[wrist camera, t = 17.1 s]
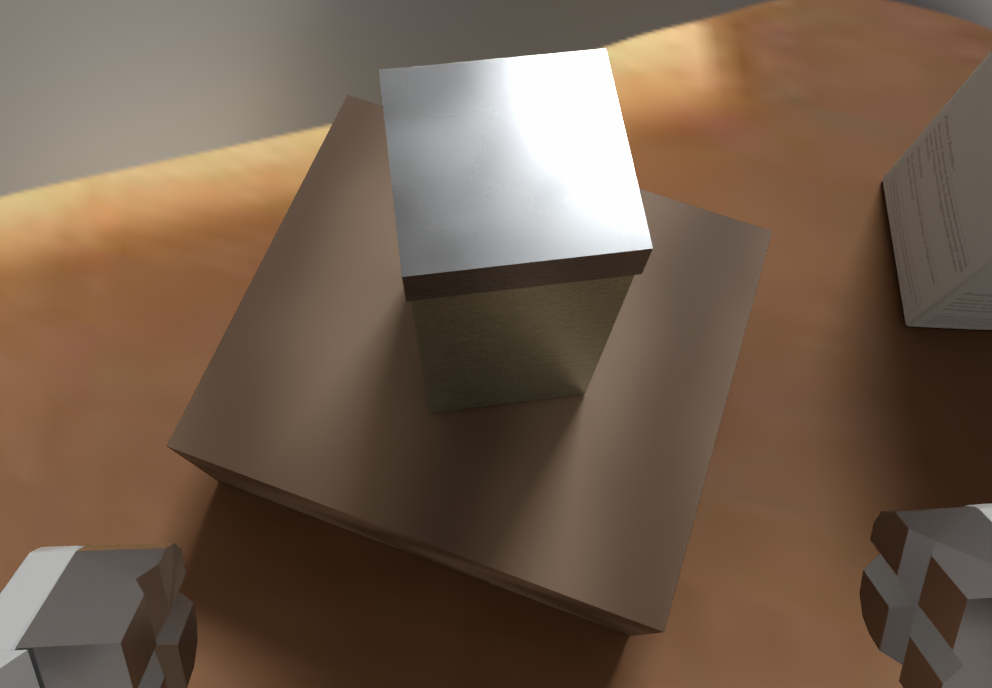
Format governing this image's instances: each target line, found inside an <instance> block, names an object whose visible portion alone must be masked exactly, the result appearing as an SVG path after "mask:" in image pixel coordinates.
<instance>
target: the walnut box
mask: <svg viewBox="0 0 992 688" xmlns="http://www.w3.org/2000/svg"><path fill="white" fill-rule="evenodd" d="M639 191H640V195H641V199H642V204H643V208H644V212H645V216H646V221H647V225H648V229H649V233H650V238H651V242H652V246H653V250H652V252H651V254H650V257H649V259H648V261H647V264H646V266H645V268H644V270H643V273H642V274H639V275H635V276H634V278H633V280H632V283H631V285H630V288H629V290H628V292H627V295H626V297H625V300H624V302H623V304H622V307H621V309H620V312H619V314H618V316H617V319H616V321H615V324H614V326H613V328H612V331H611V333H610V336H609V338H608V340H607V343H606V345H605V348H604V350H603V352H602V355H601V357H600V360H599V362H598V365H597V367H596V369H595V372H594V374H593V377H592V379H591V381H590V384H589V386H588V389H587V391H586V393H585V394H580V395H572V396H564V397H556V398H548V399H541V400H533V401H525V402H517V403H509V404H501V405H493V406H485V407H477V408H470V409H462V410H454V411H446V412H438V413H429V407H428V401H427V395H426V389H425V383H424V377H423V371H422V365H421V359H420V353H419V347H418V340H417V334H416V328H415V322H414V316H413V310H412V304H411V301H407V302H406V298H405V292H404V287H403V281H402V275H401V266H400V257H399V248H398V238H397V229H396V220H395V211H394V202H393V193H392V184H391V175H390V166H389V157H388V148H387V139H386V129H385V120H384V111H383V106H381V105H377V104H374V103H371V102H368V101H365V100H362V99H359V98H356V97H352V96H349V95H347V97H346V99H345V101H344V103H343V105H342V107H341V109H340V111H339V112H338V115H337V116H336V118H335V120H334V122H333V124H332V126H331V128H330V130H329V132H328V134H327V136H326V138H325V140H324V142H323V144H322V146H321V147H320V149H319V151H318V153H317V155H316V157H315V159H314V161H313V163H312V165H311V167H310V169H309V171H308V173H307V175H306V177H305V179H304V180H303V182H302V184H301V186H300V188H299V190H298V192H297V194H296V196H295V198H294V200H293V202H292V204H291V206H290V208H289V210H288V212H287V214H286V215H285V217H284V219H283V221H282V223H281V225H280V227H279V229H278V231H277V233H276V235H275V237H274V239H273V241H272V243H271V245H270V247H269V249H268V250H267V252H266V254H265V256H264V258H263V260H262V262H261V264H260V266H259V268H258V270H257V272H256V274H255V276H254V278H253V280H252V282H251V283H250V285H249V287H248V289H247V291H246V293H245V295H244V297H243V299H242V301H241V303H240V305H239V307H238V309H237V311H236V313H235V315H234V317H233V318H232V320H231V322H230V324H229V326H228V328H227V330H226V332H225V334H224V336H223V338H222V340H221V342H220V344H219V346H218V348H217V350H216V352H215V353H214V355H213V357H212V359H211V361H210V363H209V365H208V367H207V369H206V371H205V373H204V375H203V377H202V379H201V381H200V383H199V385H198V386H197V388H196V390H195V392H194V394H193V396H192V398H191V400H190V402H189V404H188V406H187V408H186V410H185V412H184V414H183V416H182V418H181V420H180V421H179V423H178V425H177V427H176V429H175V431H174V433H173V435H172V437H171V439H170V441H169V443H168V445H167V447H169V448H170V449H172V450H173V451H174V452H176V453H177V454H179V455H180V456H182V457H183V458H185V459H186V460H188V461H189V462H191V463H192V464H194V465H195V466H197V467H198V468H200V469H201V470H203V471H204V472H205V473H207V474H208V475H210V476H211V477H213V478H214V479H216V480H217V481H219V482H221V483H224V484H227V485H229V486H232V487H235V488H237V489H240V490H243V491H245V492H248V493H251V494H253V495H256V496H259V497H261V498H264V499H267V500H269V501H272V502H275V503H277V504H280V505H282V506H285V507H288V508H290V509H293V510H296V511H298V512H301V513H304V514H306V515H309V516H312V517H314V518H317V519H320V520H322V521H325V522H328V523H330V524H333V525H336V526H338V527H341V528H344V529H346V530H349V531H352V532H354V533H357V534H360V535H362V536H365V537H368V538H370V539H373V540H376V541H378V542H381V543H384V544H386V545H389V546H392V547H394V548H397V549H400V550H402V551H405V552H408V553H410V554H413V555H415V556H418V557H421V558H423V559H426V560H429V561H431V562H434V563H437V564H439V565H442V566H445V567H447V568H450V569H453V570H455V571H458V572H461V573H463V574H466V575H469V576H471V577H474V578H477V579H479V580H482V581H485V582H487V583H490V584H493V585H495V586H498V587H501V588H503V589H506V590H509V591H511V592H514V593H517V594H519V595H522V596H525V597H527V598H530V599H533V600H535V601H538V602H541V603H543V604H546V605H548V606H551V607H554V608H556V609H559V610H562V611H564V612H567V613H570V614H572V615H575V616H578V617H580V618H583V619H586V620H588V621H591V622H594V623H596V624H599V625H602V626H604V627H607V628H610V629H612V630H615V631H618V632H620V633H623V634H626V635H628V636H632V635H641V634H651V633H660V632H664V629H665V625H666V622H667V618H668V614H669V611H670V607H671V603H672V600H673V596H674V592H675V588H676V585H677V581H678V577H679V574H680V570H681V566H682V563H683V559H684V555H685V551H686V548H687V544H688V540H689V537H690V533H691V529H692V526H693V522H694V518H695V514H696V511H697V507H698V503H699V500H700V496H701V492H702V489H703V485H704V481H705V477H706V474H707V470H708V466H709V463H710V459H711V455H712V452H713V448H714V444H715V440H716V437H717V433H718V429H719V426H720V422H721V418H722V415H723V411H724V407H725V404H726V400H727V396H728V392H729V389H730V385H731V381H732V378H733V374H734V370H735V367H736V363H737V359H738V355H739V352H740V348H741V344H742V341H743V337H744V333H745V330H746V326H747V322H748V318H749V315H750V311H751V307H752V304H753V300H754V296H755V293H756V289H757V285H758V281H759V278H760V274H761V270H762V267H763V263H764V259H765V256H766V252H767V248H768V244H769V241H770V237H771V233H772V231H769V230H766V229H763V228H760V227H757V226H754V225H750V224H747V223H744V222H741V221H738V220H735V219H732V218H729V217H726V216H722V215H719V214H716V213H713V212H710V211H707V210H704V209H701V208H698V207H694V206H691V205H688V204H685V203H682V202H679V201H676V200H673V199H670V198H667V197H663V196H660V195H657V194H654V193H651V192H648V191H645V190H642V189H639Z"/></svg>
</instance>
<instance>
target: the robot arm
mask: <svg viewBox="0 0 992 688" xmlns="http://www.w3.org/2000/svg"><path fill="white" fill-rule="evenodd" d="M870 540H871V542H872V543H873V545H874V546H875V548H876V549H877V551H878V552H879V555H878V556H877V557H876V558H875V559H874V560H873V561H872V562H871V563H870V564H869V565H868V566H867V567H866V568H865V569H864V570H863V575H862V581H861V587H860V600H861V608H862V616H863V619H864V621H865V624H866V627H867V629H868V632H869V634H870V636H871V637H872V639H873V641H874V642H875V644H876V646H877V647H878V649H879V650H880V651H881V652H883V653H884V654H886V655H888V656H889V657H891V658H892V659H894V660H895V661H897V662H899V663H900V664H902V669H901V674H900V679H899V682H900V683H901V685H902V686H903V688H992V503H990V504H976V505H965V506H964V507H952V508H932V509H912V510H892V511H881V513H880V514H879V516H878V517H877V519H876V520H875V521H874V525H873V529H872V533H871V538H870ZM186 573H187V571H186V567H185V564H184V560H183V556H182V552H181V549H180V548H179V547H178V546H177V545H175V544H174V543H155V544H115V545H86V546H58V547H41V548H38V549H36V550H34V551H32V552H30V553H29V554H28V555H27V557H26V558H25V559H24V561H23V562H22V564H21V565H20V566H19V568H18V569H17V571H16V572H15V573H14V575H13V576H12V578H11V579H10V580H9V582H8V583H7V585H6V586H5V587H4V589H3V590H2V592H1V593H0V688H187V686H188V683H189V680H190V677H191V674H192V671H193V668H194V663H195V656H196V648H197V620H196V615H195V610H194V605H193V603H192V602H191V601H190V600H189V599H188V598H187V597H186V596H184V595H183V594H182V593H181V592H180V591H179V590H180V587H181V585H182V582H183V580H184V578H185V575H186Z"/></svg>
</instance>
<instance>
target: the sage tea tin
mask: <svg viewBox="0 0 992 688" xmlns="http://www.w3.org/2000/svg"><path fill="white" fill-rule="evenodd" d="M379 75H380V83H381V93H382V102H383V111H384V120H385V129H386V139H387V148H388V157H389V166H390V175H391V184H392V193H393V202H394V211H395V220H396V229H397V238H398V248H399V257H400V266H401V275H402V281H403V287H404V292H405V298H406V302H407V301H411V304H412V310H413V316H414V322H415V328H416V334H417V340H418V347H419V353H420V359H421V365H422V371H423V377H424V383H425V389H426V395H427V401H428V407H429V413H438V412H446V411H454V410H462V409H470V408H477V407H485V406H493V405H501V404H509V403H517V402H525V401H533V400H541V399H548V398H556V397H564V396H572V395H580V394H585V393H586V391H587V389H588V386H589V384H590V381H591V379H592V377H593V374H594V372H595V369H596V367H597V365H598V362H599V360H600V357H601V355H602V352H603V350H604V348H605V345H606V343H607V340H608V338H609V336H610V333H611V331H612V328H613V326H614V324H615V321H616V319H617V316H618V314H619V312H620V309H621V307H622V304H623V302H624V300H625V297H626V295H627V292H628V290H629V288H630V285H631V283H632V280H633V278H634V276H635V275H639V274H642V273H643V270H644V268H645V266H646V264H647V261H648V259H649V257H650V254H651V252H652V250H653V246H652V242H651V238H650V233H649V229H648V225H647V221H646V216H645V212H644V208H643V204H642V199H641V195H640V191H639V187H638V182H637V178H636V174H635V170H634V165H633V161H632V157H631V153H630V148H629V144H628V140H627V136H626V131H625V127H624V123H623V119H622V114H621V110H620V106H619V102H618V97H617V93H616V89H615V85H614V80H613V76H612V72H611V68H610V63H609V59H608V55H607V51H606V48H604V49H594V50H583V51H573V52H562V53H551V54H541V55H530V56H520V57H509V58H498V59H488V60H478V61H467V62H457V63H446V64H435V65H424V66H414V67H403V68H393V69H382V70H379Z"/></svg>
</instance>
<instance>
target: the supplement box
mask: <svg viewBox="0 0 992 688" xmlns="http://www.w3.org/2000/svg"><path fill="white" fill-rule="evenodd" d="M883 187H884V192H885V199H886V206H887V212H888V218H889V224H890V230H891V236H892V243H893V249H894V255H895V261H896V267H897V274H898V280H899V286H900V292H901V298H902V305H903V311H904V318H905V323H906V325H907V326H913V327H931V328H955V329H976V330H992V51H991V52H990V53H989V55H988V56H987V57H986V58H985V59H984V60H983V62H982V63H981V64H980V65H979V66H978V67H977V69H976V70H975V71H974V72H973V73H972V75H971V76H970V77H969V78H968V79H967V80H966V81H965V83H964V84H963V85H962V86H961V88H960V89H959V90H958V91H957V92H956V93H955V94H954V96H953V97H952V98H951V99H950V100H949V101H948V103H947V104H946V105H945V106H944V107H943V109H942V110H941V111H940V112H939V113H938V115H937V116H936V117H935V118H934V119H933V120H932V122H931V123H930V124H929V125H928V126H927V127H926V129H925V130H924V131H923V132H922V133H921V135H920V136H919V137H918V138H917V139H916V140H915V142H914V143H913V144H912V145H911V146H910V147H909V148H908V150H907V151H906V152H905V153H904V154H903V156H902V157H901V158H900V159H899V160H898V161H897V163H896V164H895V165H894V166H893V167H892V169H891V170H890V171H889V172H888V173H887V174H886V175H885V177H884V178H883Z"/></svg>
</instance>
